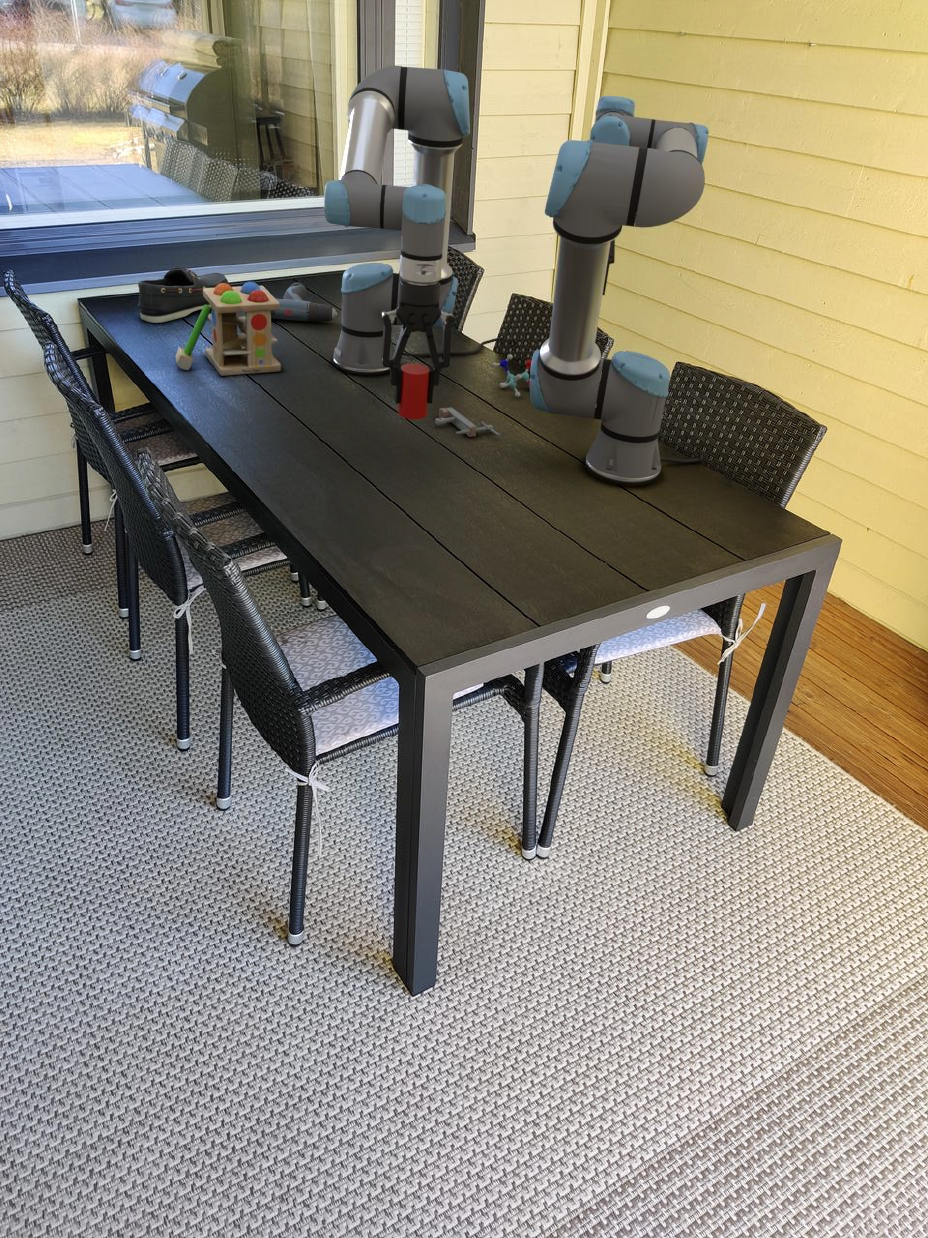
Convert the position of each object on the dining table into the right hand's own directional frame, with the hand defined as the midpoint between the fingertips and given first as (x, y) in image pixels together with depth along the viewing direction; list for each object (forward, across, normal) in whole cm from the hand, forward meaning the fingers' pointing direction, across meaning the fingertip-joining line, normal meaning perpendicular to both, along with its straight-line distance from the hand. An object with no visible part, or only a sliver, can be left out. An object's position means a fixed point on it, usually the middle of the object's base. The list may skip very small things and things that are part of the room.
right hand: (588, 285), depth 214 cm
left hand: (+15, +29, -42) cm, 54 cm away
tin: (+18, +29, -42) cm, 54 cm away
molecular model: (+27, -7, -13) cm, 30 cm away
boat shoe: (+27, -64, -90) cm, 113 cm away
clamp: (+27, +16, -29) cm, 43 cm away
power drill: (+27, -61, -58) cm, 89 cm away
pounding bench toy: (+27, -21, -79) cm, 86 cm away
